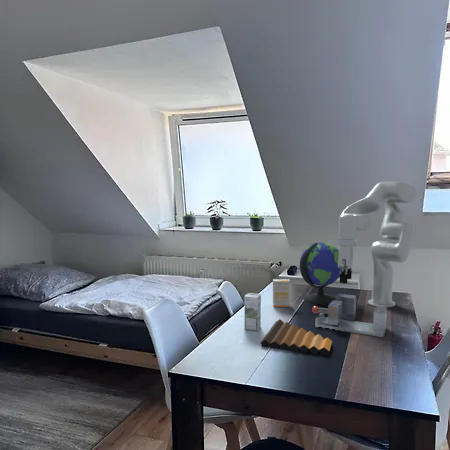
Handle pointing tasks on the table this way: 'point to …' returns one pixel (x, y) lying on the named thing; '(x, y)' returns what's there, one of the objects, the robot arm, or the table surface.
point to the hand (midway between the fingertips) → (345, 280)
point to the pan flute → (295, 339)
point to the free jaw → (331, 312)
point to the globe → (320, 270)
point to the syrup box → (252, 311)
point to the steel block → (347, 306)
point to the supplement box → (281, 293)
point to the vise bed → (358, 324)
